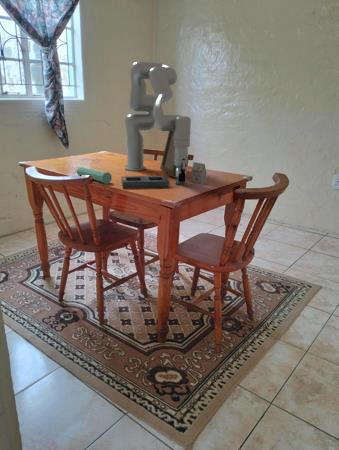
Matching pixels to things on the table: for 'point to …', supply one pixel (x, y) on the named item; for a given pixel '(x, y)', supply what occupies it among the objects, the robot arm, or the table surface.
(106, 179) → the container
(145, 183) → the block
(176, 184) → the bushing
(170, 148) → the photo frame
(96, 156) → the table surface
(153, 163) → the table surface
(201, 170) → the grey upright block
